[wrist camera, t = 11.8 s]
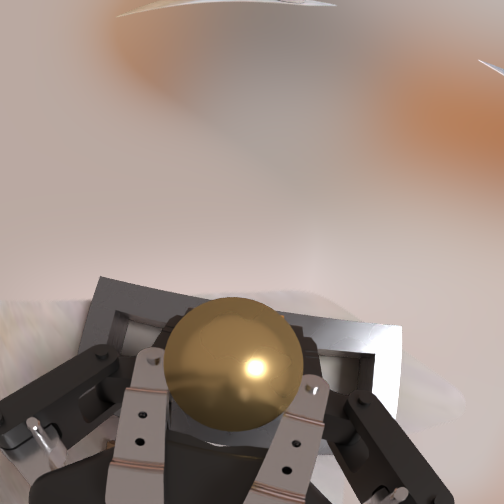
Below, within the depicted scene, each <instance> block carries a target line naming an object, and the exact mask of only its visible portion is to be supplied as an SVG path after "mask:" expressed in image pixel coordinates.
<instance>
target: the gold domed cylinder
mask: <svg viewBox="0 0 504 504" xmlns="http://www.w3.org/2000/svg"><path fill="white" fill-rule="evenodd" d="M163 366H164V375H165V379H166V383H167V386H168V389H169V391H170V393H171V395H172V397H173V398H174V400H175V401H176V403H177V404H178V405H179V407H180V408H181V409H182V410H183V411H184V412H185V413H186V414H187V415H189V416H190V417H191V418H192V419H194V420H196V421H197V422H199V423H201V424H203V425H205V426H207V427H210V428H213V429H217V430H221V431H229V432H239V431H247V430H252V429H255V428H258V427H261V426H263V425H266V424H267V423H269V422H271V421H273V420H274V419H276V418H277V417H278V416H279V415H281V414H282V413H283V412H284V411H285V410H286V409H287V408H288V407H289V405H290V404H291V402H292V401H293V400H294V398H295V396H296V394H297V392H298V390H299V387H300V384H301V380H302V376H303V355H302V349H301V346H300V343H299V340H298V338H297V336H296V334H295V332H294V331H293V329H292V328H291V326H290V325H289V324H288V322H287V321H286V320H285V319H284V318H283V317H282V316H281V315H280V314H278V313H277V312H276V311H274V310H273V309H272V308H270V307H268V306H266V305H264V304H262V303H260V302H257V301H254V300H250V299H246V298H238V297H227V298H219V299H215V300H211V301H208V302H206V303H203V304H201V305H199V306H197V307H196V308H194V309H193V310H191V311H190V312H188V313H187V314H186V315H185V316H184V317H183V318H182V319H181V320H180V321H179V322H178V324H177V325H176V326H175V328H174V329H173V331H172V332H171V335H170V337H169V339H168V341H167V344H166V348H165V353H164V364H163Z"/></svg>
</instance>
